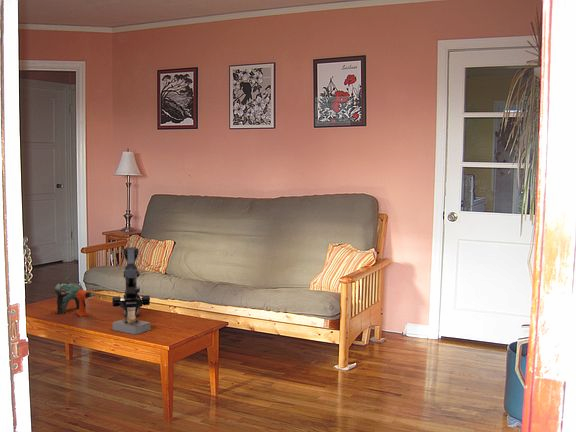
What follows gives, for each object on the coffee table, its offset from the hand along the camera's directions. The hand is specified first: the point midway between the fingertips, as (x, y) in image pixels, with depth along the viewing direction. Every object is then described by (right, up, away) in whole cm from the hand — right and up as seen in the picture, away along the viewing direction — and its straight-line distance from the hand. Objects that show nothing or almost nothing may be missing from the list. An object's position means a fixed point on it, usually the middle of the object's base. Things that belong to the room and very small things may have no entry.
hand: (131, 315), depth 308 cm
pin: (0, -6, +2) cm, 7 cm away
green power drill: (-46, -5, +41) cm, 62 cm away
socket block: (0, -8, +2) cm, 8 cm away
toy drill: (-32, -6, +28) cm, 43 cm away
